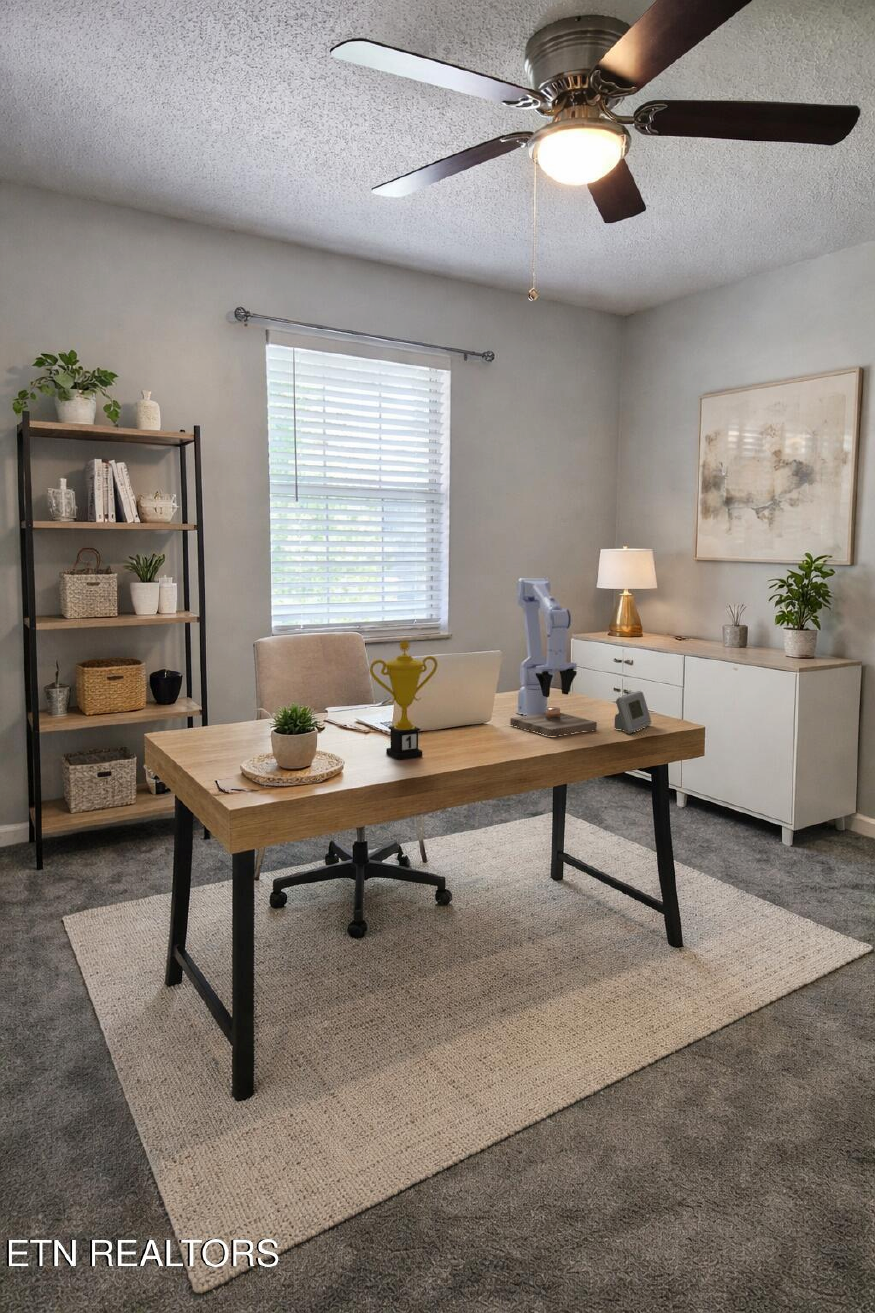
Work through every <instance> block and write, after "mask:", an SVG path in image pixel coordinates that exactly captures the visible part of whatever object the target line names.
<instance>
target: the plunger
mask: <svg viewBox="0 0 875 1313" xmlns="http://www.w3.org/2000/svg"><path fill="white" fill-rule="evenodd" d="M560 713H561V708H560V707H558V706H557V707H556V706H547V715H546V717H549V718H559V717H560Z"/></svg>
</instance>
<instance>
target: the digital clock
mask: <svg viewBox="0 0 875 1313" xmlns="http://www.w3.org/2000/svg"><path fill="white" fill-rule="evenodd" d="M615 704H616V708H617V710H618V713H615V715H614V728H616V729H621V730H624V731H623V732H624V733H626V734H628V733H631V734H632V732H634V731H637V730H639V729H641V728H643V727H646V726H647V727H649V726H650V725H651V724H652V718H651V715H650V712H649V709H648V708H649V707H648V706H647V705H648V704H647V702H646V698H645V695H644V693H643V691H641V690H637V691H631V692H629V693H627V694H623V695H622V696H619V697H617V699H616V700H615ZM648 725H649V726H648ZM614 728H613V729H614ZM639 731H640V730H639ZM637 732H638V731H637Z"/></svg>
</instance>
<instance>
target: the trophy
mask: <svg viewBox="0 0 875 1313" xmlns="http://www.w3.org/2000/svg"><path fill="white" fill-rule="evenodd" d="M398 647H399V650H400V651H401V652H403V654H399V655H397V657H396V658H395V659H391V660H389V661H387V662H385V661H384V660H381V659H376V660H374V661H373V662H372V663H371V664H370V668H369V673H370V675H371V676H372V678H373V679H374V680H375V681H376V682H377V684H378V685H380V686H381V687H382V688H384V689H385V691H387V692H389V693H390V694H391V696H392V697H393V698H392V699H393V700H391V701H389V700H386V701H387V702H388V704H392V703H394V702H395V703H396V705H398V706H399V707H400V708H401V716H400V719H399V720H398V721H397V723H396V724H395V725H393V726H389V727H388V728H387V729H388V730H390V747H386V748H385V749H386V750H385V751H386V755H387V756H390V757H391V758H393V759H395V760H399V761H401V760H408V759H416V758H422V757H423V751H422V749H419V731H421V728H419V727H417V726H415V725H413V723H412V721H411V720H409V718H408V708H409V707H410V706H411V705H412V703H414V700H415V701H420V700H422V697H419V698H417V697H416V695H417V693H418V692H419V690H420V689H422V688H423V686H424V685H425V684H426V683H427V682H429V681H430V679H431V678H432V677H433V676H434V674H435V673H436V671H437V668H438V661H437V659H436V658H435V657H434V656H432V655H429V656H426V657H425V658H424V659H423V660H422V661H419V660H417V659H415V658H413V657H412V655H411V654H410V655H409V654H406V652H407V651H409V649H410V647H411V645H410V642H409V641H408V640H406V639H403V640H401V641H400V642H399V645H398ZM427 660H431V661H433V663H434V666H433V669H432V670H431V672H430V673H429V674H428V675H427V677H425V679H424V680H422V682H420V684H419V681H420V676H421V674H422V673H425V672H426V671H427V669H428V667H427V665H426V662H427ZM377 664H381V665H382V668H381V672H380V673H381V674H382V675H383V676H389V681H390V684H391V685H390V686H391V688H390V687H389V686H387V684H385V683H384V682H382V681H381V680H380V678H378V677H377V676H376V675H375V673H374V671H373V669H374V667H375V665H377ZM385 670H386V672H385Z"/></svg>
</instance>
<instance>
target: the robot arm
mask: <svg viewBox="0 0 875 1313" xmlns="http://www.w3.org/2000/svg"><path fill="white" fill-rule="evenodd" d="M515 591H516V600H517V605H518V606H519V607H520V608H522V613H523V619H524V620H523V621H524V631H525V632H524V633H525V640H526V650H527V651H526V653H527V658H526V659H524V660H523V661H522V662H521V663H520V666H519V683H520V684H521V686H522V687H520V689H519V691H518V694H517V711H515V714H518V713H522V714H525V715H534V714H541V713H547V708H548V698H550V693H551V692H550V691H551V686H552V685H553V684H554V681H555V680H554V679H555V677H554V676H555V675H554V674H555V673H554V672H559V674H560V680H561V681H560V682H561V685H560V686H561V687H560V688H561V694H563V695H565V696H566V695H569V692H570V689H571V685H572V683H573V682H574V678H576V676H577V674H578V673H577V670H578V669H577V668H578V666H577V664H578V663H576V662H567V654H568V650H567V649H568V629H569V628H570V627H571V623H572V616H571V611H570V609H568V608H563V607H562V605H561V603H559V601H558V599H557V598H556V597H555V596H551V582H550V580H549V578H547V577H545V578H523V577H521V578H519V579H518V580H517V582H516V587H515ZM539 609H540V610H541V613H542V614H543V616H544V624H545V632H546V633H545V634H546V635H547V641H546V642H547V643H546V645H547V646H546V647H547V648H546V657H545V656H544V654H543V644H542V643H543V642H542V635H541V634H542V633H541V624H540V616H539V615H540V614H539ZM525 715H524V716H525Z"/></svg>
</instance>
